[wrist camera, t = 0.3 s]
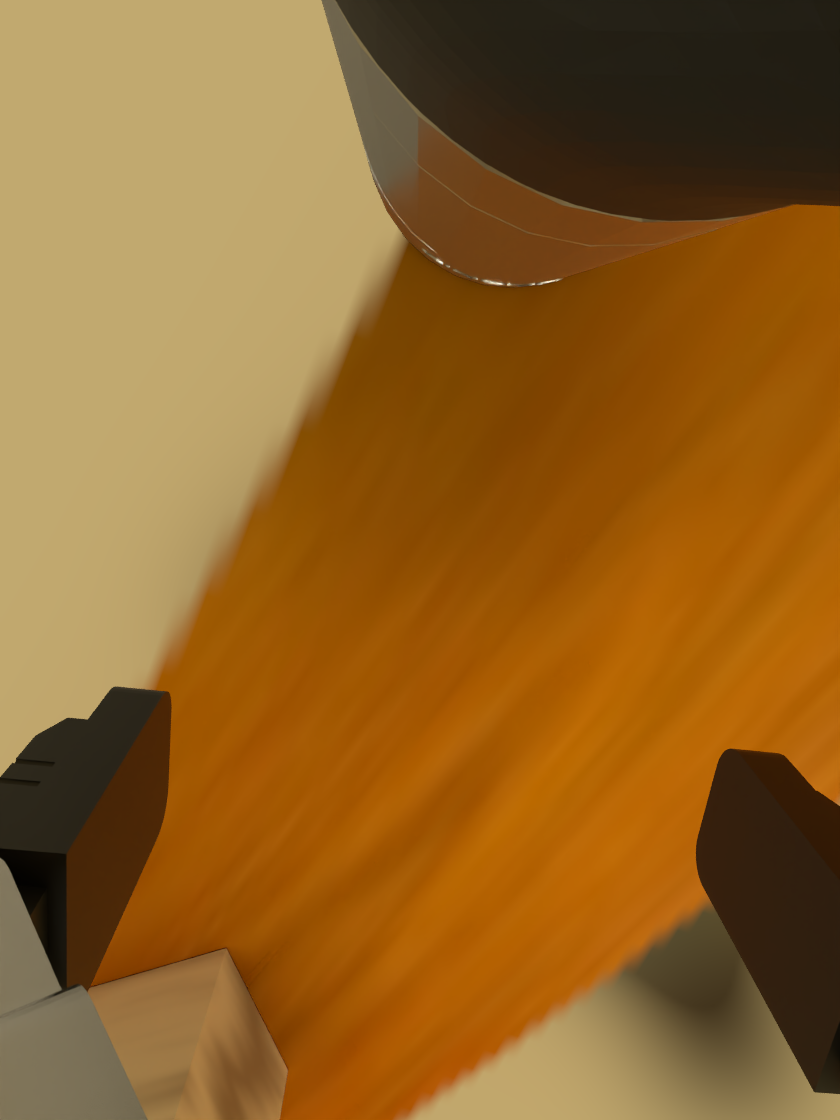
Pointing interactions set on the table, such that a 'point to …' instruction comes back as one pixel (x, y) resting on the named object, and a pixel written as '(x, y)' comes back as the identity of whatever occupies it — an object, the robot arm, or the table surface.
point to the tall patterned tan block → (193, 1042)
